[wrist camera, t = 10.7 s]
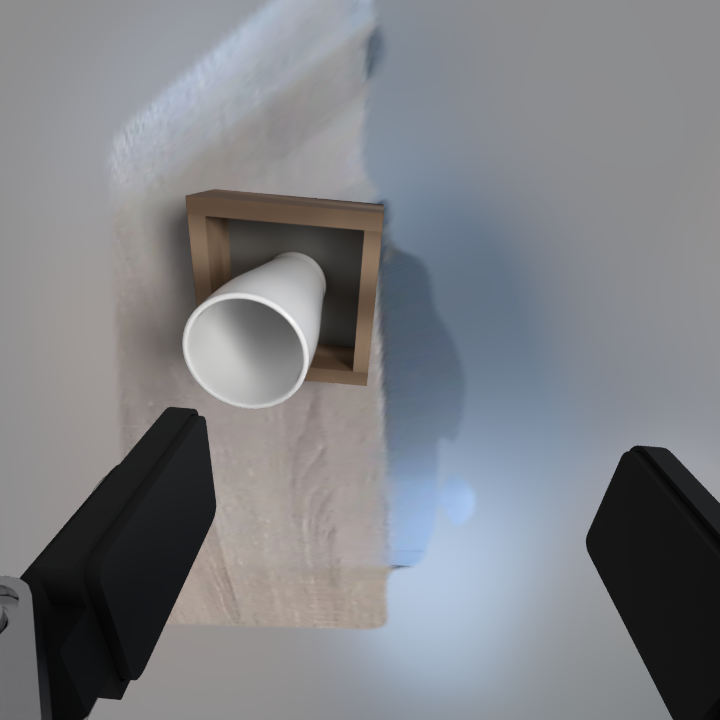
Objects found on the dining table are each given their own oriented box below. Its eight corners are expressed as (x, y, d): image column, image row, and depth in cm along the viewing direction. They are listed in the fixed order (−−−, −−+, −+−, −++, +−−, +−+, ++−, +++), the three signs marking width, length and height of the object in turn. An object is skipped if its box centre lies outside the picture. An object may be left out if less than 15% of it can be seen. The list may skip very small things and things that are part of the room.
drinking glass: (319, 332, 37) (286, 428, 23) (246, 302, 36) (167, 385, 22) (347, 261, 34) (329, 323, 21) (269, 227, 33) (196, 269, 20)
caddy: (368, 356, 39) (366, 385, 34) (225, 343, 39) (203, 370, 34) (383, 204, 33) (383, 213, 28) (214, 189, 33) (185, 195, 28)
